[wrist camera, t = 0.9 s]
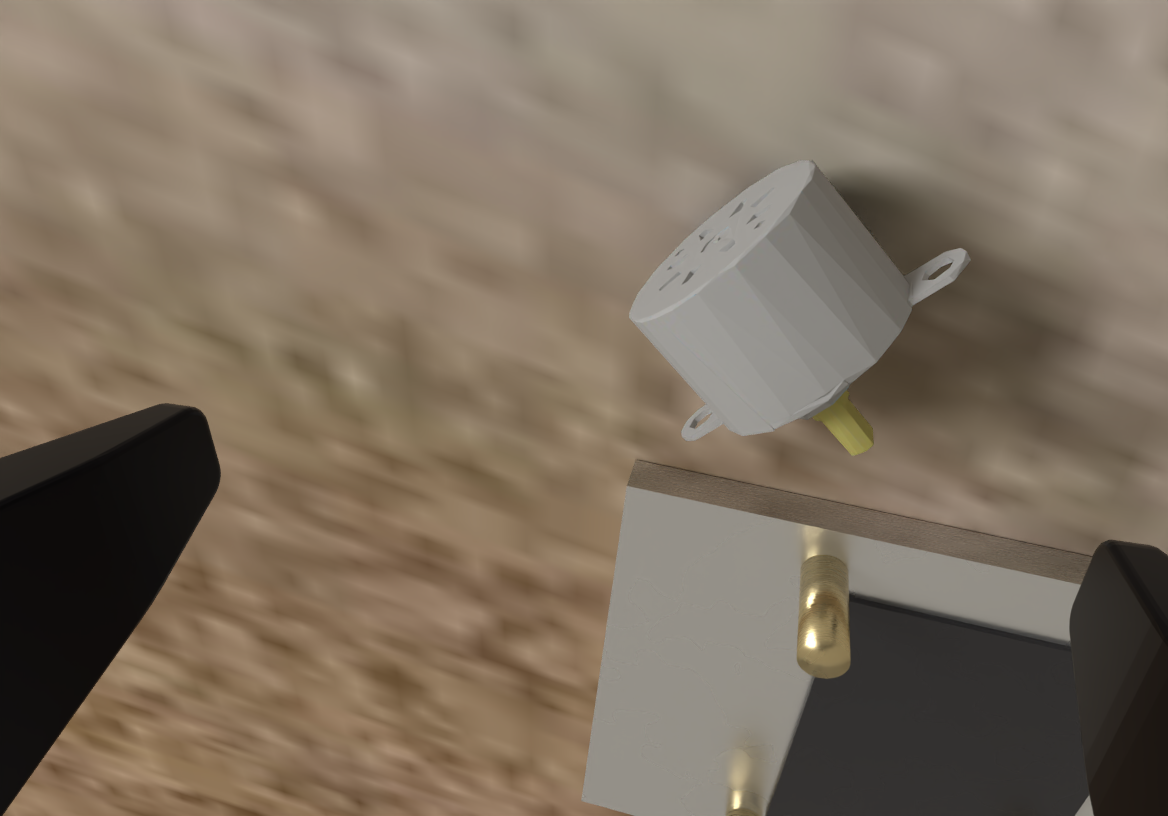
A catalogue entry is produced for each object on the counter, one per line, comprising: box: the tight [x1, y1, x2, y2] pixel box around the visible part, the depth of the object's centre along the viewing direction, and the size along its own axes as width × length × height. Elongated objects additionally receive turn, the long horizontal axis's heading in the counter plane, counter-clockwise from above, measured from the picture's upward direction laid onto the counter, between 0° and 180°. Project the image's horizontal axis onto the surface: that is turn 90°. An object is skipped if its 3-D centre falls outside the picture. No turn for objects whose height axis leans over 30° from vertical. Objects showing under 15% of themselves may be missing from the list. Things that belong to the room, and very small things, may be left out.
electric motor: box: [629, 160, 971, 456], centre depth 18 cm, size 7×5×5 cm
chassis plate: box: [582, 460, 1094, 816], centre depth 24 cm, size 20×14×4 cm
